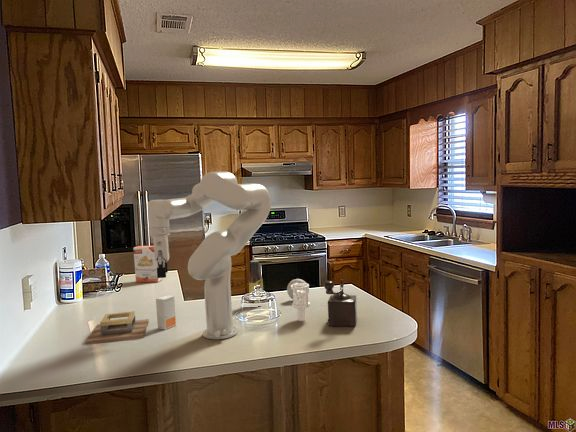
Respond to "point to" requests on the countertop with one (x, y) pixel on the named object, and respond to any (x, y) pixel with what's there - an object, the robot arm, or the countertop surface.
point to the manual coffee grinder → (341, 307)
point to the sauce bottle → (255, 276)
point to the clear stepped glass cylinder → (300, 299)
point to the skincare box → (166, 312)
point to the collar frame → (118, 323)
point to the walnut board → (136, 333)
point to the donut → (289, 290)
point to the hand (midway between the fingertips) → (162, 275)
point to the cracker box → (145, 264)
